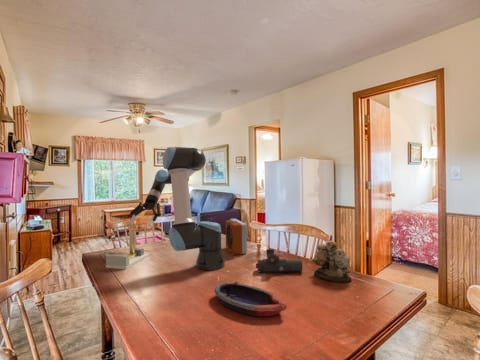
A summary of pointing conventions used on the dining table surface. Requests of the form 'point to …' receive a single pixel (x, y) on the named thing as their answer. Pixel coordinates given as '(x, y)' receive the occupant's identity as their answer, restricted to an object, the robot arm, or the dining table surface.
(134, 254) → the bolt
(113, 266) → the jamb board
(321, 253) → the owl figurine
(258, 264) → the laser sight
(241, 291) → the dish
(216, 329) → the dining table surface
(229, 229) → the alarm clock
